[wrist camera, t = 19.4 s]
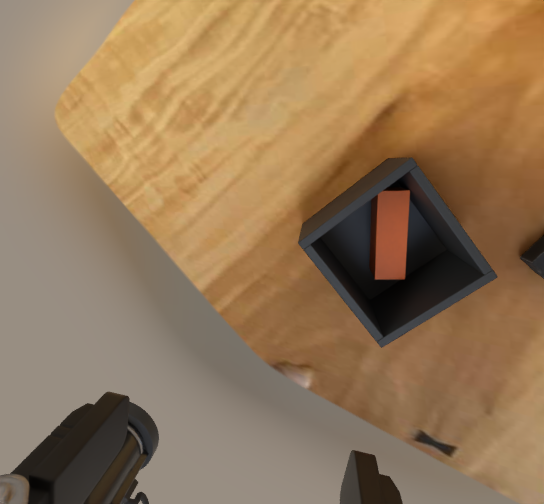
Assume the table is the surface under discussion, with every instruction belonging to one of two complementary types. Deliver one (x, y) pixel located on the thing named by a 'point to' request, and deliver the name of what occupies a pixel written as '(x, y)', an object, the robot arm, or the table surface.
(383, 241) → the orange block
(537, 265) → the disk drive
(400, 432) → the table surface
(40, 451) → the robot arm
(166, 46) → the table surface
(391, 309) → the bin
